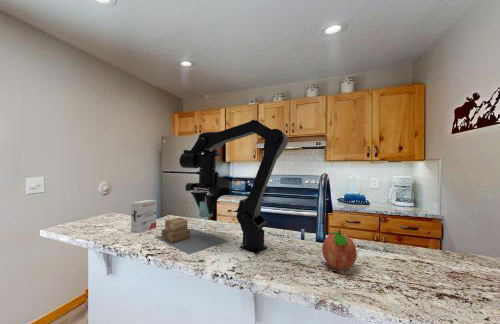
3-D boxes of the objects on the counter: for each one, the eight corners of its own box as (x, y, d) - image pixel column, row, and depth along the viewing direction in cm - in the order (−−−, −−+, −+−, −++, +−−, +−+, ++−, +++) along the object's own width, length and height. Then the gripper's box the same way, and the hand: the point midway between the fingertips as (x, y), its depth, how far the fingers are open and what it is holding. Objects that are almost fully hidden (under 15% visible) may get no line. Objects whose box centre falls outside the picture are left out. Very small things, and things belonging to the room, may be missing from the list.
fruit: (353, 262, 62) (353, 227, 62) (360, 278, 53) (360, 237, 53) (321, 258, 64) (322, 224, 65) (322, 272, 55) (323, 233, 56)
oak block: (187, 229, 77) (187, 220, 78) (173, 232, 73) (173, 222, 73) (178, 226, 81) (179, 217, 81) (164, 229, 77) (165, 219, 77)
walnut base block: (190, 238, 78) (190, 229, 78) (171, 243, 72) (172, 233, 72) (179, 234, 82) (179, 225, 82) (161, 238, 77) (161, 229, 77)
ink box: (147, 227, 92) (148, 199, 92) (156, 228, 90) (157, 199, 91) (129, 232, 84) (130, 201, 84) (139, 234, 82) (140, 203, 83)
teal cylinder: (215, 215, 78) (215, 201, 78) (204, 218, 74) (205, 203, 74) (207, 213, 81) (207, 200, 81) (196, 215, 77) (197, 201, 77)
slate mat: (228, 242, 76) (228, 241, 76) (188, 255, 64) (189, 254, 64) (192, 229, 90) (192, 228, 90) (154, 238, 78) (154, 237, 78)
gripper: (242, 169, 78) (240, 213, 77) (209, 168, 90) (207, 206, 90) (218, 169, 69) (216, 219, 69) (185, 168, 82) (183, 210, 81)
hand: (206, 212), depth 77 cm, fingers closed on teal cylinder, 5 cm apart
